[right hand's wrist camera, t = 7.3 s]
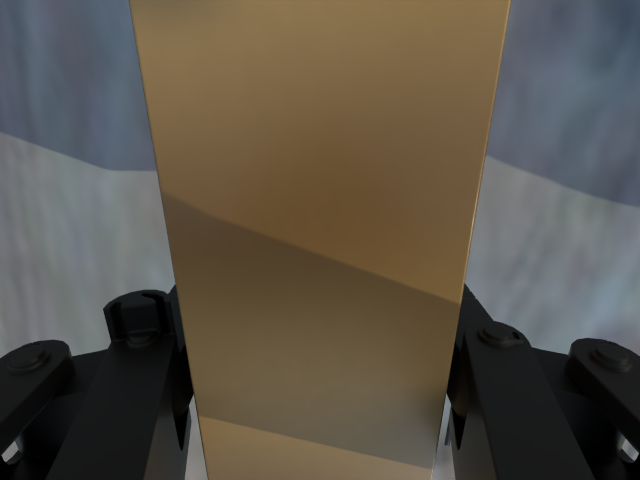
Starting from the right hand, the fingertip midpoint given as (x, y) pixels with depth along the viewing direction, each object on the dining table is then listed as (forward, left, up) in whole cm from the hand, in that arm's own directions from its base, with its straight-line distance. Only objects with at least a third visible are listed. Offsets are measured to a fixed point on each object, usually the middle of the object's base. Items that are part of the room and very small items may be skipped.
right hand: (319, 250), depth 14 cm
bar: (+2, +9, -1) cm, 9 cm away
